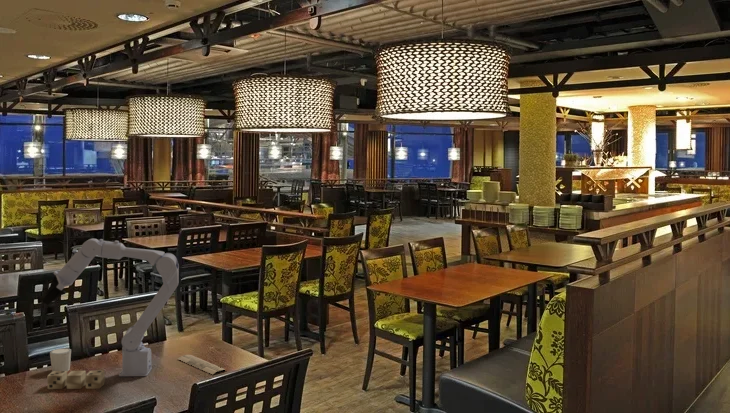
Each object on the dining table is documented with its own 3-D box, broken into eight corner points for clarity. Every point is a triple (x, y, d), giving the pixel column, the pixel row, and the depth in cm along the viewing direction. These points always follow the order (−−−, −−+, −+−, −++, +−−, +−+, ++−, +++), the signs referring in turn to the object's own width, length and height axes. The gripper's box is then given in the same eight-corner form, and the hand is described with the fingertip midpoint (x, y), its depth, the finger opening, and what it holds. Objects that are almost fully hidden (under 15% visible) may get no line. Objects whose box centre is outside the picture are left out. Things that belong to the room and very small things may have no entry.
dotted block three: (67, 384, 206) (67, 370, 206) (61, 389, 202) (61, 375, 201) (53, 384, 206) (53, 370, 206) (47, 389, 201) (47, 375, 201)
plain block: (86, 383, 207) (85, 370, 207) (81, 388, 202) (80, 375, 202) (72, 384, 206) (71, 370, 206) (66, 389, 202) (66, 375, 202)
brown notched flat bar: (227, 373, 221) (227, 368, 221) (210, 378, 216) (210, 373, 216) (191, 358, 237) (191, 353, 237) (174, 362, 232) (174, 357, 232)
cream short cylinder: (63, 374, 215) (62, 354, 215) (45, 372, 217) (45, 352, 216) (75, 367, 222) (75, 348, 221) (59, 366, 223) (58, 347, 223)
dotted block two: (104, 383, 207) (104, 370, 207) (100, 388, 203) (99, 374, 202) (90, 383, 207) (90, 370, 207) (85, 388, 202) (85, 375, 202)
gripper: (66, 255, 216) (39, 285, 215) (61, 267, 203) (32, 299, 202) (83, 267, 219) (57, 297, 218) (79, 279, 205) (51, 311, 204)
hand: (46, 299), depth 210 cm, fingers open, 7 cm apart
